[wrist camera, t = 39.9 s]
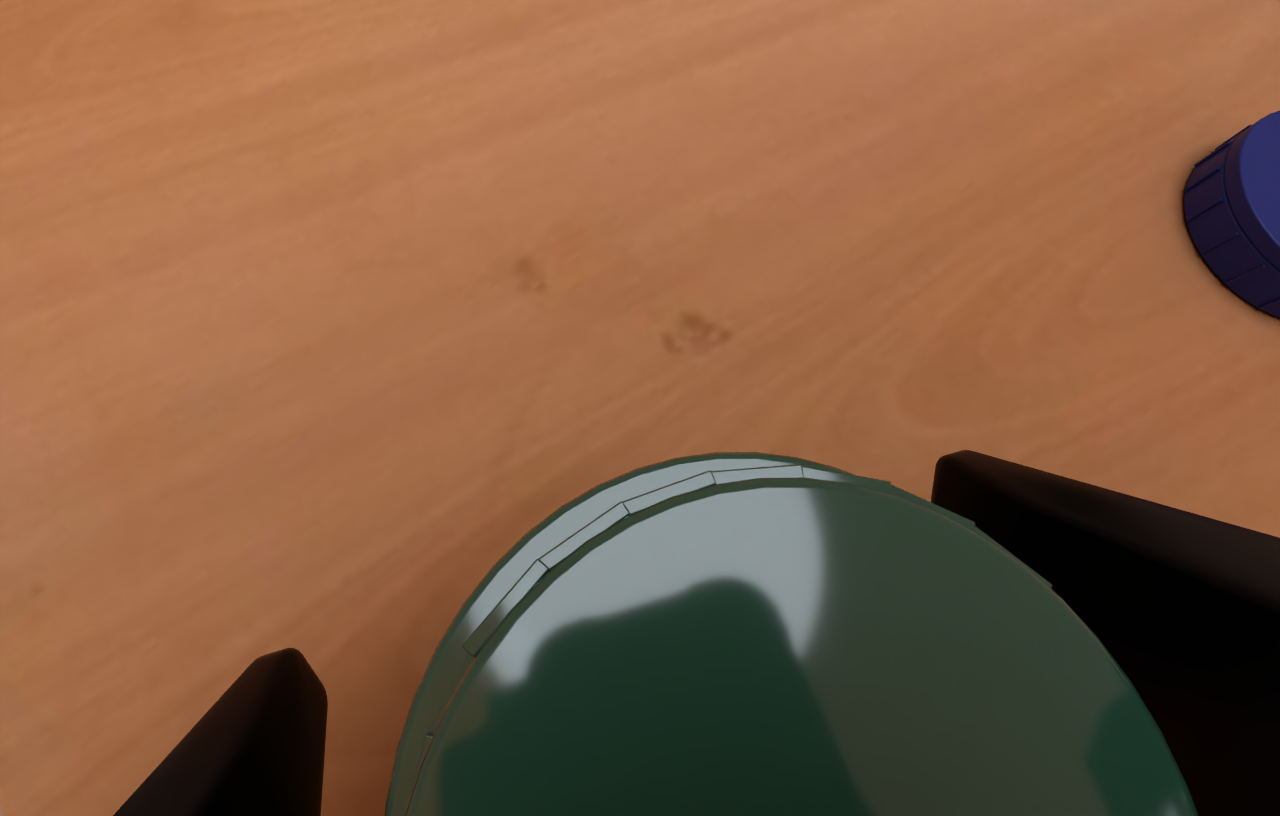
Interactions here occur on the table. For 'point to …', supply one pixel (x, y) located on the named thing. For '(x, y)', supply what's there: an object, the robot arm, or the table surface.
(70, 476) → the table surface
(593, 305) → the table surface
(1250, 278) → the lid
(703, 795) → the jar
